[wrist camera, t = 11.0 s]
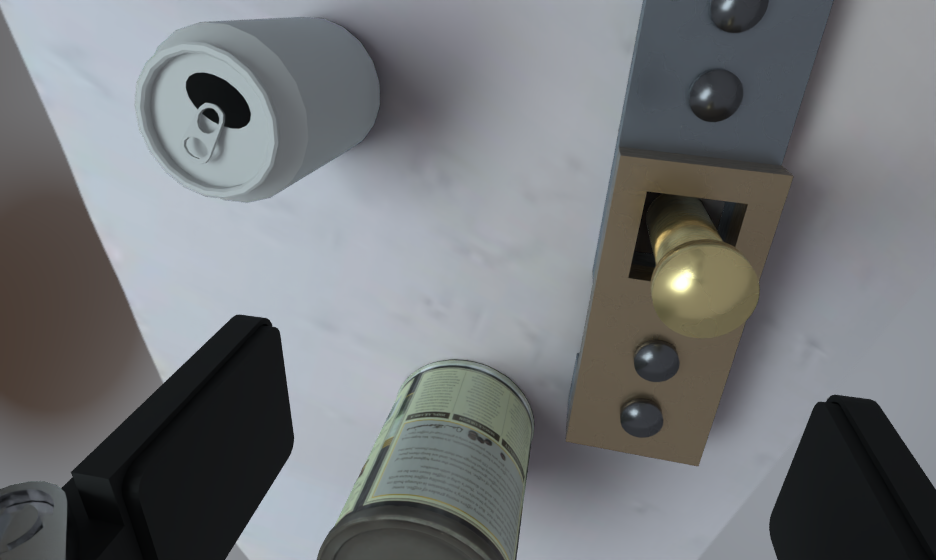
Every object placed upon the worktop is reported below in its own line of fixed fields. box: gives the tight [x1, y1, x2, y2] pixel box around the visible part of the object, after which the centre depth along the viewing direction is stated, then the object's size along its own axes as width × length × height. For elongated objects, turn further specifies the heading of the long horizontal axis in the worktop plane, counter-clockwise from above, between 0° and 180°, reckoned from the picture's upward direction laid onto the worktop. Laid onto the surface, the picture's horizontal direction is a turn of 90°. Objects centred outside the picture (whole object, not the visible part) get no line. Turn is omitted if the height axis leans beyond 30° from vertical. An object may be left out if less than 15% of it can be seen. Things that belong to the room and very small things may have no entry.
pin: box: [646, 193, 760, 338], centre depth 29 cm, size 4×4×10 cm
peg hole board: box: [566, 0, 834, 466], centre depth 31 cm, size 28×8×5 cm, turn 176°
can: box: [135, 17, 380, 203], centre depth 29 cm, size 8×8×12 cm
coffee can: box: [317, 360, 534, 560], centre depth 36 cm, size 10×10×14 cm
